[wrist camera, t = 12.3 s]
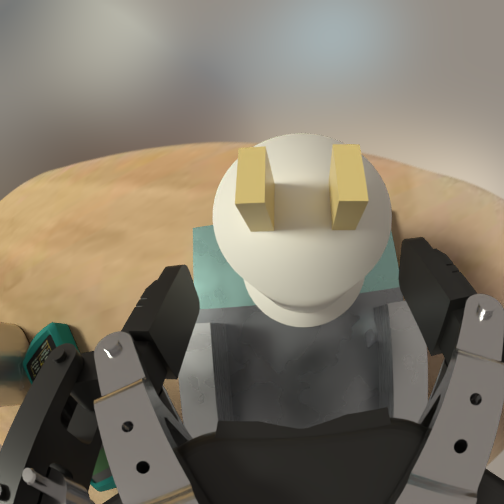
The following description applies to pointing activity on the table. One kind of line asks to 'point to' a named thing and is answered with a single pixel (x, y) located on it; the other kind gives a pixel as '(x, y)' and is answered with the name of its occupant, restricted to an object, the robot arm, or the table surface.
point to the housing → (298, 353)
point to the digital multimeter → (32, 364)
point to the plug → (302, 225)
